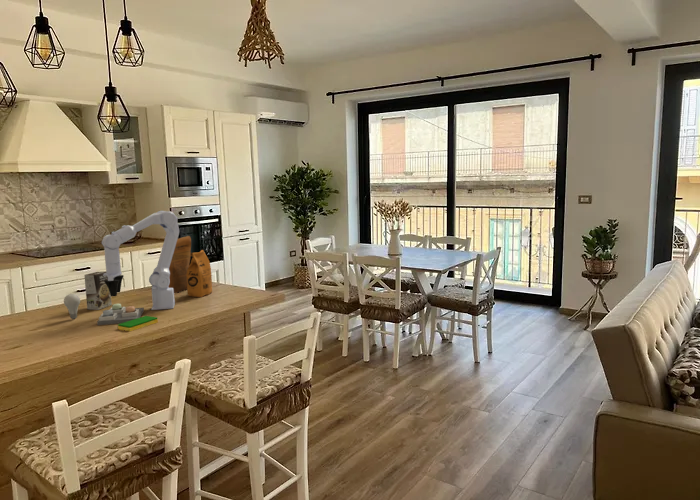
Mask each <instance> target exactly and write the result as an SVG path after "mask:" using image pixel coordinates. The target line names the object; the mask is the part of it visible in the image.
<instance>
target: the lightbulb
mask: <svg viewBox="0 0 700 500" xmlns="http://www.w3.org/2000/svg"><path fill="white" fill-rule="evenodd" d="M80 303H81V298H80V296H79V295H78V294H76V293H68V294H66V296H65V297H64V298H63V304H64V306H65V307H66V309H67V310H68V314H69V317H70V319H72V320H75V319H77V318H78V308H79V305H80Z"/></svg>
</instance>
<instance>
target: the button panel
mask: <svg viewBox="0 0 700 500" xmlns="http://www.w3.org/2000/svg"><path fill="white" fill-rule="evenodd" d="M121 308H122V309H120V310H113V315H112V316H105V317H104V316H103V313H101V315H99V316H98V320H97V321H96V323H97V326H104V325H115V324H116V325H118V324H121V323H124V322H127V321H131V320H134V319H137V318H140V317H142V315H143V313H144V311H145V308H144V307H135V312H131V313H126V306H121ZM108 310H112V307H110V309H108Z"/></svg>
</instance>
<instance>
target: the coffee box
mask: <svg viewBox="0 0 700 500" xmlns="http://www.w3.org/2000/svg"><path fill="white" fill-rule="evenodd" d="M104 273H106V271H95V272H91V273H87V274H84V285H85V297H86V299H85V300H86V309H87V310H93V311H94V310H96V311H98V310H101V309H105V308H108V307H111V306H112V305H113V304H112V296H111V295H110V292H109V289H108V287H107V285H106V284H105V282H104V281H105V280H108V277H107V276H104V275H103V274H104Z"/></svg>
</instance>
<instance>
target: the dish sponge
mask: <svg viewBox="0 0 700 500" xmlns="http://www.w3.org/2000/svg"><path fill="white" fill-rule="evenodd" d="M157 323H159V320H158V317H156V316H151V315H150V316H149V315H144V316H141V317H140V318H137V319H134V320H131V321H127V322H124V323H119V324H117V329H118V330H119V331H124V330H125V332H132V331H135V330H139V329H142V328H146V327H148V326H150V325H151V326H152V325H154V324H157Z"/></svg>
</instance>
